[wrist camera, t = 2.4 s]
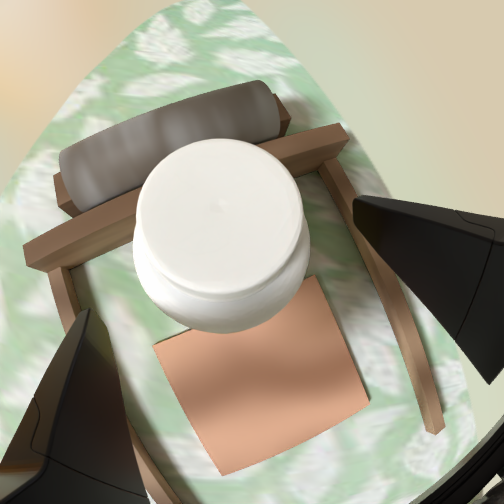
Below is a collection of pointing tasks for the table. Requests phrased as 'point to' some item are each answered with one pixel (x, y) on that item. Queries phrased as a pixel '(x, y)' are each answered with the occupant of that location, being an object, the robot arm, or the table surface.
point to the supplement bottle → (220, 236)
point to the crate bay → (248, 341)
